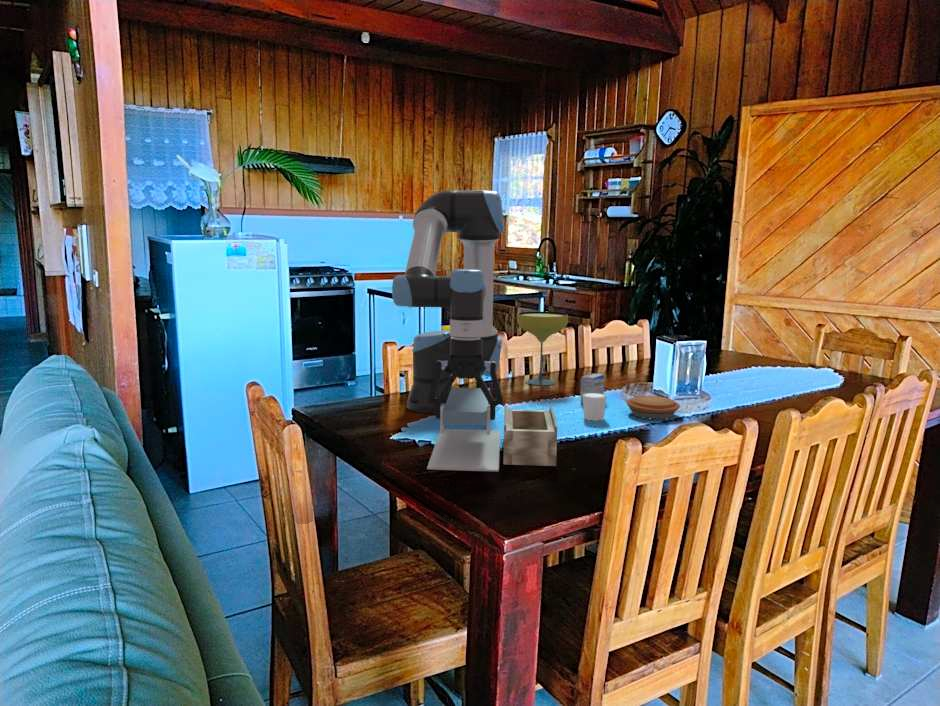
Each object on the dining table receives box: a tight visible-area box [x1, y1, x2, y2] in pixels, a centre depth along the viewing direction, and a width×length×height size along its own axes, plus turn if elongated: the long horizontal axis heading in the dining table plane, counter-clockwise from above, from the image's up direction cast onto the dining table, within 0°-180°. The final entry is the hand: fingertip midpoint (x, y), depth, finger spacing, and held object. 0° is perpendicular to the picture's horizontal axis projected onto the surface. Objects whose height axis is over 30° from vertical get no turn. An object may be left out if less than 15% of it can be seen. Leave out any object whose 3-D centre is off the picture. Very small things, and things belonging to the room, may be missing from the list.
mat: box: [426, 428, 501, 473], centre depth 168 cm, size 16×32×1 cm, turn 177°
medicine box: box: [579, 373, 605, 404], centre depth 219 cm, size 8×4×9 cm, turn 143°
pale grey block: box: [443, 386, 491, 426], centre depth 168 cm, size 10×26×3 cm, turn 177°
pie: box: [625, 395, 681, 420], centre depth 203 cm, size 16×16×5 cm
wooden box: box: [502, 404, 558, 467], centre depth 166 cm, size 12×20×9 cm, turn 177°
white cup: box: [582, 393, 608, 422], centre depth 198 cm, size 7×7×7 cm
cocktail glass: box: [516, 311, 569, 387], centre depth 246 cm, size 18×18×25 cm
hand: (465, 432), depth 159 cm, fingers closed on pale grey block, 10 cm apart
